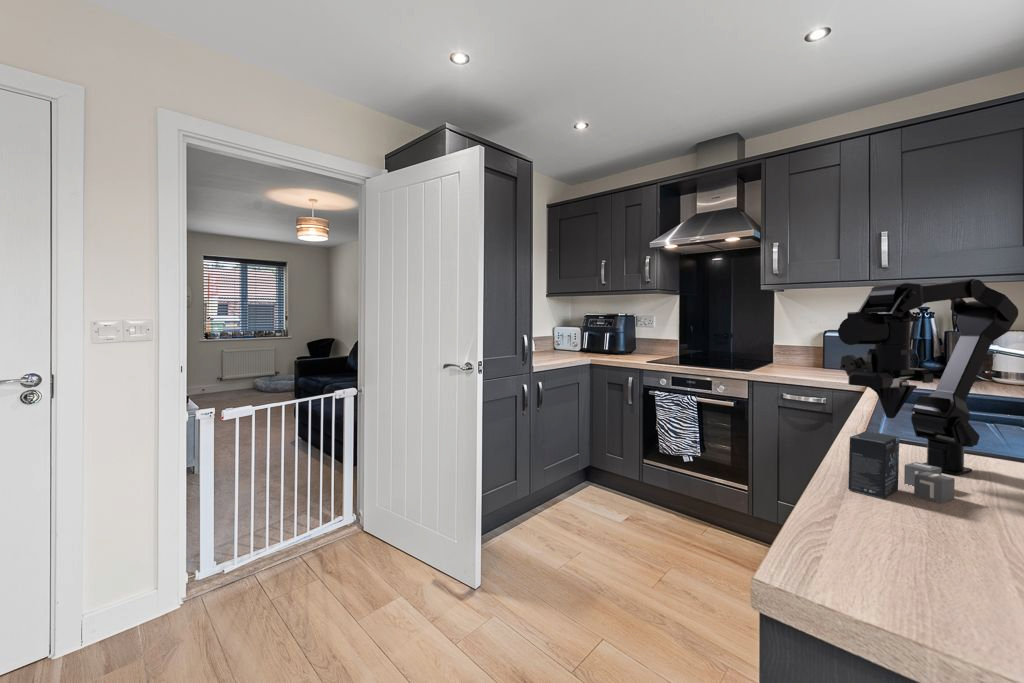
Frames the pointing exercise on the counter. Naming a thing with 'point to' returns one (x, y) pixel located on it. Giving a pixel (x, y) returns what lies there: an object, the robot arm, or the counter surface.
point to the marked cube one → (918, 471)
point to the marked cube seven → (934, 487)
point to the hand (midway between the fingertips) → (890, 418)
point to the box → (873, 464)
